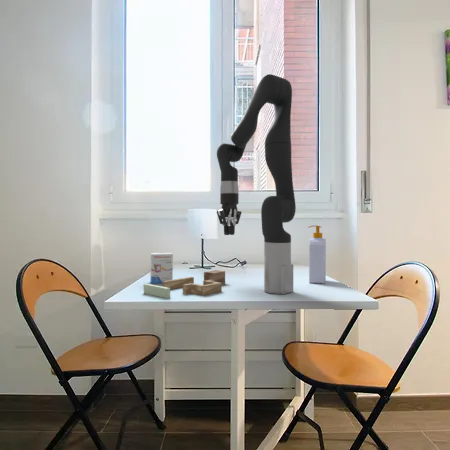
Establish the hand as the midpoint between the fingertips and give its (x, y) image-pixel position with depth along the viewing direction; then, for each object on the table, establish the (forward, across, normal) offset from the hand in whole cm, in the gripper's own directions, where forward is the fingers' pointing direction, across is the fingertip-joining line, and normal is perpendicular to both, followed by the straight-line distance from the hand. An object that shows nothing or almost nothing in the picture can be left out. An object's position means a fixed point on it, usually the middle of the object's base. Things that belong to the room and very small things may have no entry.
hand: (229, 234), depth 145 cm
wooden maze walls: (+19, -23, -3) cm, 30 cm away
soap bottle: (+19, +22, -28) cm, 41 cm away
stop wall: (+19, -38, 0) cm, 42 cm away
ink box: (+19, -20, +19) cm, 34 cm away
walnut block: (+19, -9, 0) cm, 21 cm away
